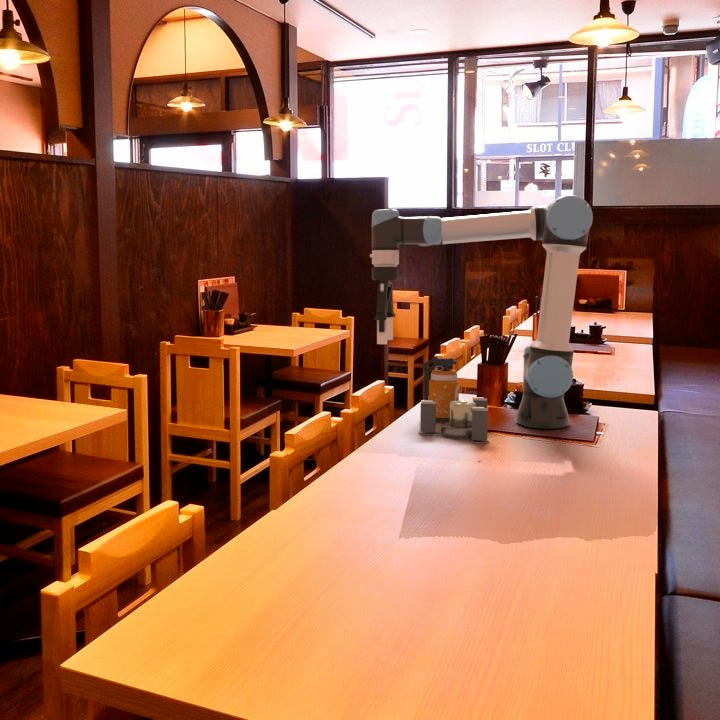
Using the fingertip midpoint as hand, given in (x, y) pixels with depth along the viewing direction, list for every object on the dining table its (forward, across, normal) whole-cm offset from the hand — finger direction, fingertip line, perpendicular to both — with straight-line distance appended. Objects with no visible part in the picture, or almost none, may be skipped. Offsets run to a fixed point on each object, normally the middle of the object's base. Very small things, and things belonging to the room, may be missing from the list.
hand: (385, 342), depth 217 cm
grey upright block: (+26, +2, +12) cm, 28 cm away
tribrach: (+26, +2, +22) cm, 34 cm away
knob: (+26, -6, +26) cm, 37 cm away
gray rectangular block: (+26, +10, +27) cm, 38 cm away
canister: (+26, -14, +15) cm, 33 cm away
